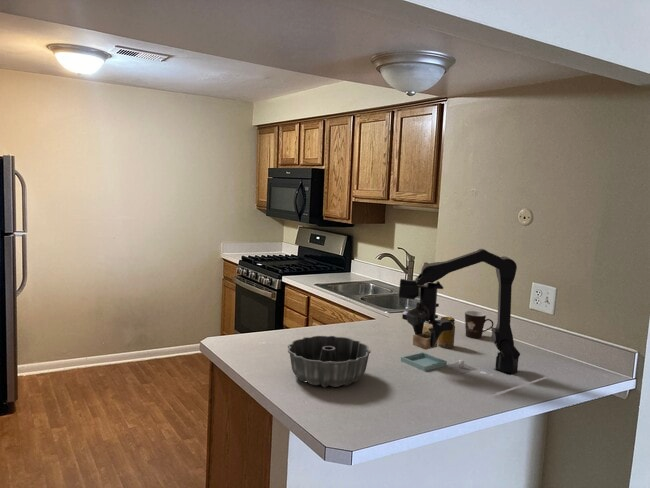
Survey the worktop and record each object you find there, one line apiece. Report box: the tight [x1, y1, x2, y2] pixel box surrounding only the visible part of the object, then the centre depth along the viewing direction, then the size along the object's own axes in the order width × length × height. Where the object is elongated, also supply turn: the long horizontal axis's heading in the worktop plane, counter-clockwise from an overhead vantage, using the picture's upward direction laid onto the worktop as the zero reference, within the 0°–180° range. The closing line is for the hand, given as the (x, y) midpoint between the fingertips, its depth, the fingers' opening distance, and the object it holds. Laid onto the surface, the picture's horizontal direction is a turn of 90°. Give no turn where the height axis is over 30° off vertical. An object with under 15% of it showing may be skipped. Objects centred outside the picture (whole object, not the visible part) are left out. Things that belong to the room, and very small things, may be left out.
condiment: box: [436, 316, 456, 350], centre depth 202 cm, size 7×8×12 cm
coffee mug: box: [464, 310, 494, 340], centre depth 219 cm, size 12×9×10 cm
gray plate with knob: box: [444, 359, 478, 374], centre depth 180 cm, size 8×8×3 cm
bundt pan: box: [287, 335, 371, 388], centre depth 166 cm, size 26×26×10 cm
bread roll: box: [422, 323, 433, 335], centre depth 218 cm, size 10×10×8 cm
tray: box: [400, 351, 448, 372], centre depth 183 cm, size 11×11×2 cm
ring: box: [412, 333, 438, 350], centre depth 182 cm, size 6×6×4 cm
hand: (425, 344), depth 182 cm, fingers closed on ring, 6 cm apart
